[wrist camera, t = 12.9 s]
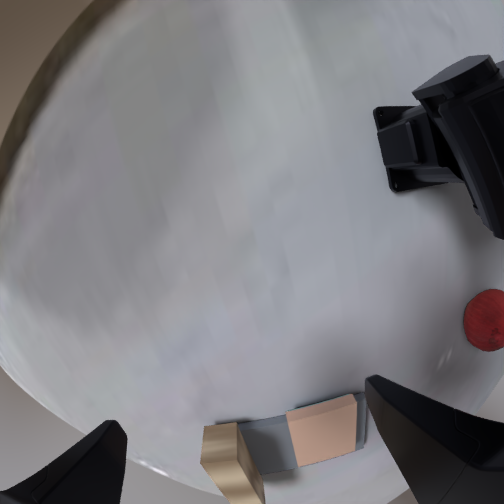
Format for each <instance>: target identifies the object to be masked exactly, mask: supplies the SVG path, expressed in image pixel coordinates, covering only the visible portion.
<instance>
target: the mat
mask: <svg viewBox="0 0 504 504" xmlns="http://www.w3.org/2000/svg"><path fill="white" fill-rule="evenodd" d="M353 396H354V398H355V400H356V402H357V421H356V444H355V451H357V450H360V449H363V448H364V437H365V421H366V399H365V395H364V394H363V392H362V393H359V394H356V395H353ZM237 425H238V427H239V429H240V432H241V434H242V436H243V439H244V441H245V443H246V445H247V448H248V450H249V452H250V454H251V456H252V459H253V461H254V463H255V465H256V467H257V469H258V471H259V473H260V475H262V474H268V473H274V472H279V471H284V470H289V469H294V468H298V464H297V460H296V456H295V451H294V447H293V443H292V439H291V434H290V430H289V426H288V422H287V417H286V415H282V416H278V417H273V418H268V419H263V420H258V421H252V422H246V423H240V424H237ZM353 452H354V451H353ZM350 453H351V452H350ZM347 454H348V453H347ZM344 455H345V454H344ZM341 456H342V455H341ZM338 457H339V456H338ZM334 458H336V457H334ZM331 459H332V458H331ZM327 460H329V459H327ZM324 461H326V460H324ZM320 462H322V461H320ZM316 463H318V462H316ZM312 464H315V463H312ZM308 465H311V464H308ZM304 466H307V465H304ZM300 467H303V466H300Z"/></svg>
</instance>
